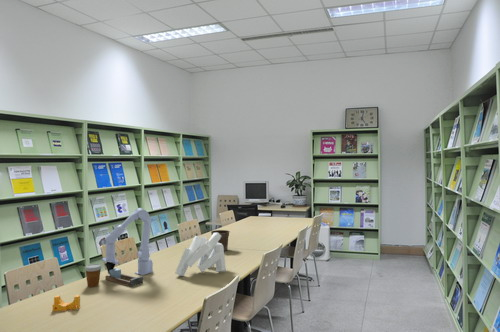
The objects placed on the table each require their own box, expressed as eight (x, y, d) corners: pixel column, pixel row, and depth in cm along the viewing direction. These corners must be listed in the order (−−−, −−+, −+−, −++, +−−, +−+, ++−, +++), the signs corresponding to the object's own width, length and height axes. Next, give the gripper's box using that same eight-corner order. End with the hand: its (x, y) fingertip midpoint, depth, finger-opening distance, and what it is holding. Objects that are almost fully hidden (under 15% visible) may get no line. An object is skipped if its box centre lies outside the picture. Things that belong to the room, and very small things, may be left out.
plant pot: (208, 249, 334) (208, 230, 334) (225, 247, 341) (225, 229, 341) (214, 253, 319) (214, 233, 319) (232, 251, 326) (232, 232, 326)
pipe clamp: (52, 311, 194) (52, 298, 194) (56, 308, 198) (56, 295, 198) (76, 310, 194) (77, 298, 194) (80, 307, 199) (80, 295, 199)
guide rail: (116, 276, 253) (116, 270, 253) (143, 282, 239) (143, 276, 239) (105, 279, 246) (105, 273, 246) (131, 286, 232) (131, 280, 232)
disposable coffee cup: (83, 288, 228) (83, 268, 228) (85, 283, 237) (85, 264, 237) (100, 287, 230) (100, 267, 230) (102, 282, 240) (102, 263, 240)
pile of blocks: (197, 291, 239) (223, 241, 241) (164, 267, 253) (189, 220, 255) (222, 290, 270) (245, 246, 272) (191, 268, 284) (214, 226, 286)
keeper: (116, 277, 251) (116, 268, 251) (120, 278, 248) (121, 269, 248) (109, 279, 246) (109, 269, 246) (114, 280, 244) (114, 271, 244)
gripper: (98, 252, 250) (98, 273, 251) (112, 255, 242) (112, 277, 243) (107, 250, 256) (107, 270, 256) (121, 253, 248) (121, 274, 248)
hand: (110, 273), depth 250 cm, fingers closed
